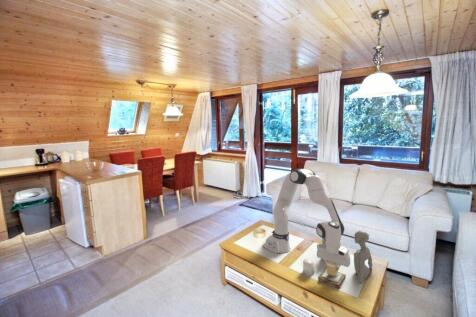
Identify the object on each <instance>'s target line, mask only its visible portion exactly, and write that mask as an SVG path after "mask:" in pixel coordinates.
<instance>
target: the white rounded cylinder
mask: <svg viewBox="0 0 476 317" xmlns="http://www.w3.org/2000/svg"><path fill="white" fill-rule="evenodd" d="M302 262H303V263H302V273H303V274H304V275H306V276H310V277H311V276H313V275H314V273H315V261H314V260H313V259H312V258H304V259H303V260H302Z"/></svg>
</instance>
